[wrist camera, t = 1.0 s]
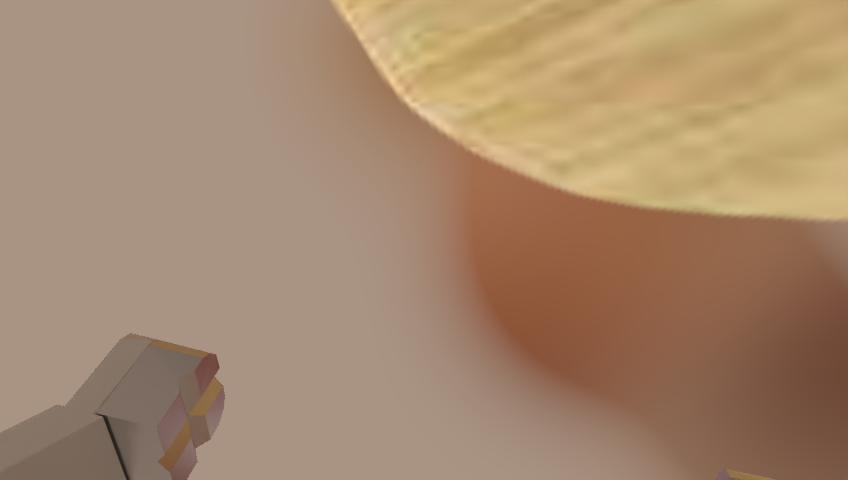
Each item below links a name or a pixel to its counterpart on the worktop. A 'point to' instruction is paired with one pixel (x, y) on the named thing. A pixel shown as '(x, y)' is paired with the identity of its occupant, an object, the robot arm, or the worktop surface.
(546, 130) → the worktop surface
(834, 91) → the worktop surface
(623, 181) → the worktop surface
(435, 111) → the worktop surface
